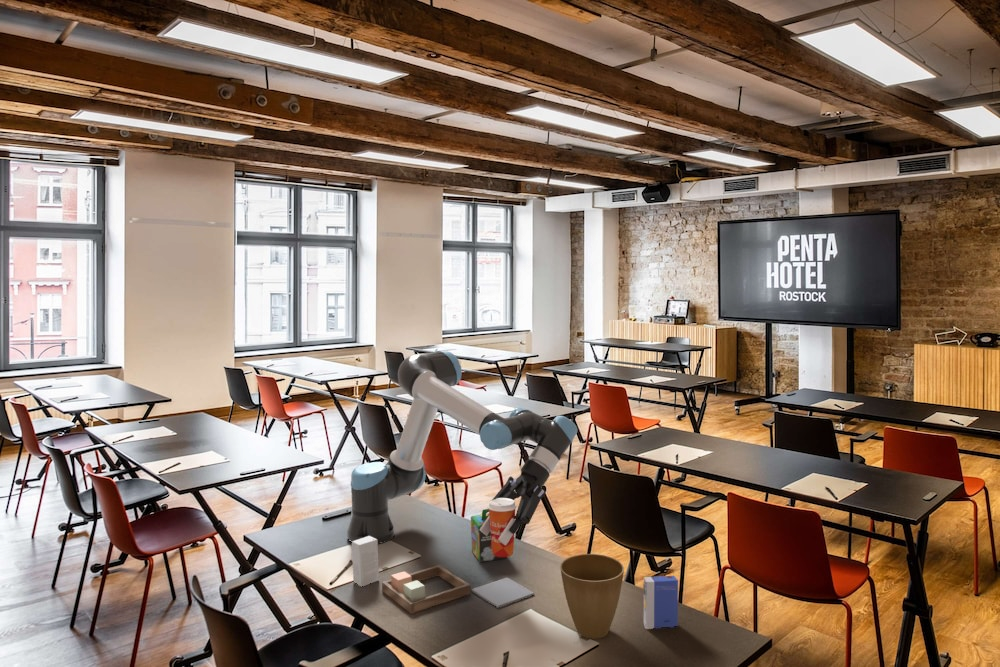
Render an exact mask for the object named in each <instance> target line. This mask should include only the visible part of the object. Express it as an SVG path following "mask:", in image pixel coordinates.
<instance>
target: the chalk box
mask: <svg viewBox="0 0 1000 667" xmlns="http://www.w3.org/2000/svg"><path fill="white" fill-rule="evenodd" d="M488 515H489V509H488V508H485V509H482V511H481V514H477V515H476V514H475V515H471V516H470V527H471V528H470V530H471V531H470V532H471V537H470V538H471V552H472V553H473V555H474V556H475V558H476V559H477V560H478V561H479V563H482V562H489V561H496V560H504V558H505V559H508V557H496V556H494V555H493V553H492V544H491V531H490V532H489V534H488V535H487V536H486V535H485V534H483V533H482V532H481V531H480V528H481V527H482V525H483V524H484V522H485V521H486V518H487V516H488Z"/></svg>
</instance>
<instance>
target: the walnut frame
mask: <svg viewBox="0 0 1000 667" xmlns="http://www.w3.org/2000/svg"><path fill="white" fill-rule="evenodd" d="M408 574H409V575H410V576H412V582H413V581H416V580H418V581H419V582H422V581H425V579H426V580H428V578H429V579H431V578H430V577H432V578H434V577H433V576H435V577H437V576H436V575H439V576H440V577H439V576H438V577H439V578H441V577H442V578H441V579H442V580H444V581H446V583H449V584H451V586H453V587H452V588H451V589H447V590H444V591H441V592H439V593H438V592H437V593H435V594H432V595H429V596H425V598H422V599H419V600H416V601H413V602H412V601H411V600H410V599H408V598H407V597H406V596H404V595H403V594H402V593H400V592H399V591H398V590H396V589H395V588H394V587H392V586H391V579H388V580H384V581H382V582H381V591H382V592H383V593H384V594H385V595H387V596H388V597H389V598H391V600H393V601H394V602H396V604H398V605H399V606H400V607H402V608H403V609H404V610H406V611H407V612H408V613H409V614H411V615H412V614H415V613H418V612H421V611H424V610H426V609H429V608H433V607H436V606H438V604H439V605H441V603H442V604H444V603H447V602H450V601H453V600H456V599H459V598H462V597H465V596H468V595H470V594H471V584H470V583H468V582H467V581H465V580H463V579H462V578H460V577H458V575H456V574H454V573H453V572H451V571H450V570H448V569H446V568H444V567H443V566H442V565H440V564H438V565H434V566H432V567H428V568H423V569H421V570H418V571H415V572H411V573H408ZM421 580H422V581H421ZM435 605H436V606H435ZM432 606H433V607H432Z"/></svg>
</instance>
